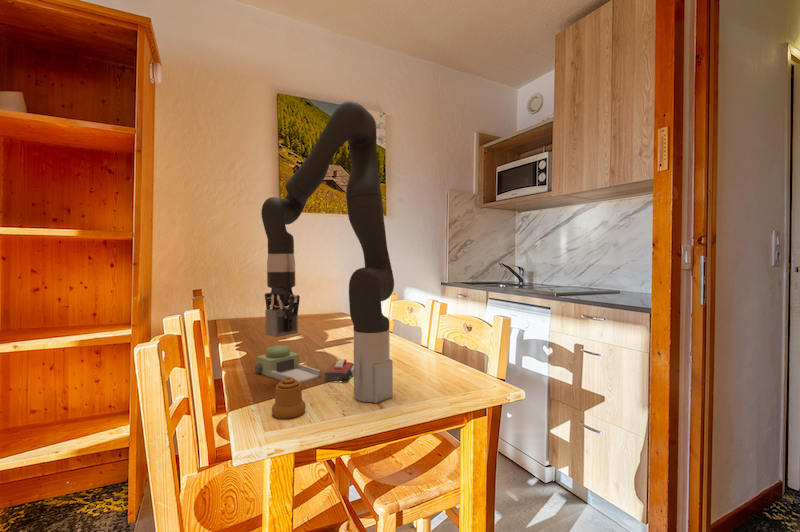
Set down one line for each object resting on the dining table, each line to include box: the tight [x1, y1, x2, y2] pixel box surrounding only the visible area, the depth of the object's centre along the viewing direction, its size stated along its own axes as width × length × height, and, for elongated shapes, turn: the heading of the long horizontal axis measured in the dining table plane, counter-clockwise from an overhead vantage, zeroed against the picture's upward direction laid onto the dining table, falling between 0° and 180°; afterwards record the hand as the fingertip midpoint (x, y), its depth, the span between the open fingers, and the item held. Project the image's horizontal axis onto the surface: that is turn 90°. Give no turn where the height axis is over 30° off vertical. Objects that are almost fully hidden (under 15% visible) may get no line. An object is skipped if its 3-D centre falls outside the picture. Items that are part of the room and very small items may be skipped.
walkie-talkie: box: [324, 358, 354, 383], centre depth 120 cm, size 9×4×20 cm
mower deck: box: [254, 344, 322, 384], centre depth 118 cm, size 19×12×7 cm, turn 48°
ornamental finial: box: [271, 377, 306, 420], centre depth 89 cm, size 8×8×8 cm
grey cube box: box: [264, 308, 299, 338], centre depth 108 cm, size 5×7×7 cm
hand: (282, 330), depth 108 cm, fingers closed on grey cube box, 5 cm apart
